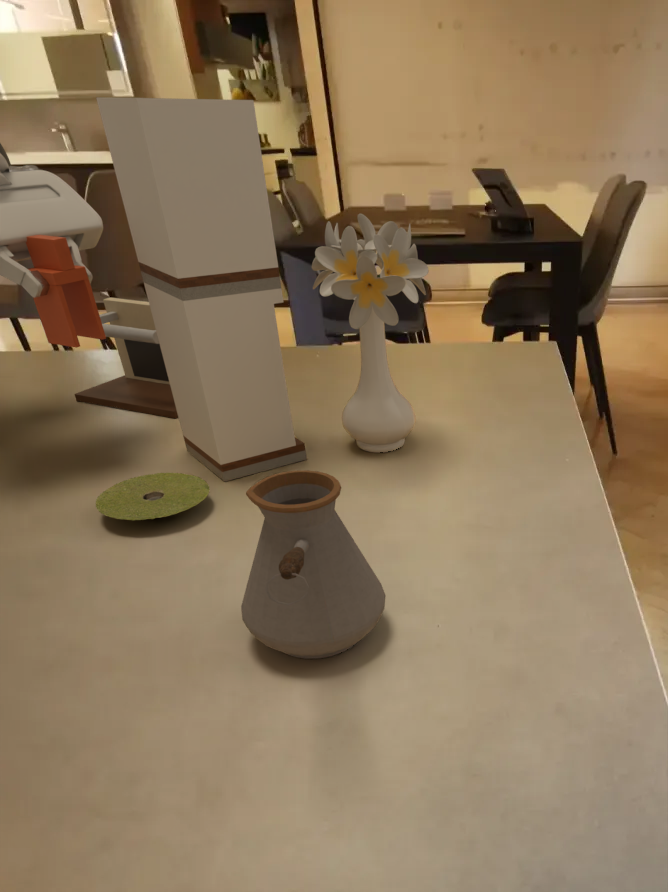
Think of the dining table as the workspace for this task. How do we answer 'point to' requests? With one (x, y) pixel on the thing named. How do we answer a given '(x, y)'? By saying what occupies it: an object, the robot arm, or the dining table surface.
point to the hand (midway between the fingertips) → (64, 287)
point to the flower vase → (372, 322)
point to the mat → (152, 496)
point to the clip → (63, 293)
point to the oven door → (134, 362)
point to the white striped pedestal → (208, 272)
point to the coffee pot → (307, 570)
